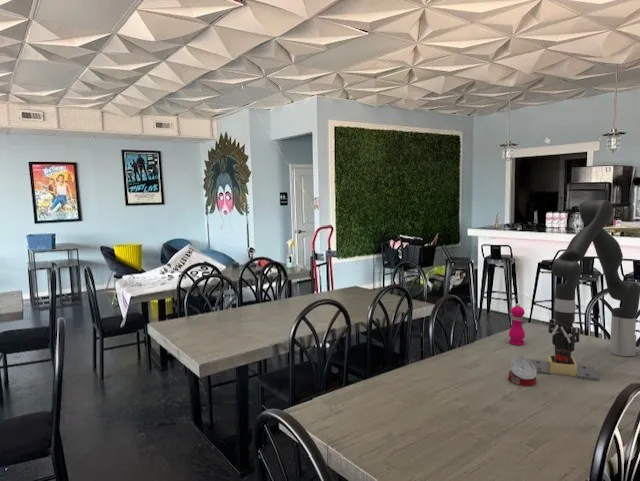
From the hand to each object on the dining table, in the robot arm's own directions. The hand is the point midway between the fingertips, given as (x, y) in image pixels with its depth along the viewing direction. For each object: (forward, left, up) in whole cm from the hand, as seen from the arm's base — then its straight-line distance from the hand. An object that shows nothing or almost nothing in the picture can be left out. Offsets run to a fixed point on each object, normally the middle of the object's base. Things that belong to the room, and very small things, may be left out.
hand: (562, 347), depth 187 cm
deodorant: (0, 0, -10) cm, 10 cm away
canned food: (+16, +17, -10) cm, 25 cm away
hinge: (0, 0, -10) cm, 10 cm away
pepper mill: (+17, -30, -10) cm, 36 cm away
